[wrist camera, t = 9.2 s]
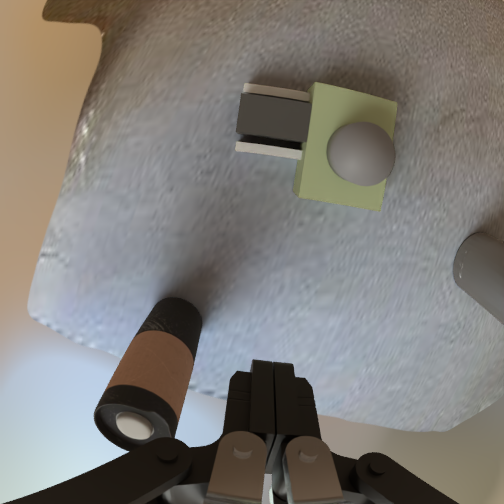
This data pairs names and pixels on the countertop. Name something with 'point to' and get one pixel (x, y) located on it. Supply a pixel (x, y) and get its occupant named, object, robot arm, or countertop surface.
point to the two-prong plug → (338, 144)
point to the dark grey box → (273, 118)
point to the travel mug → (151, 377)
